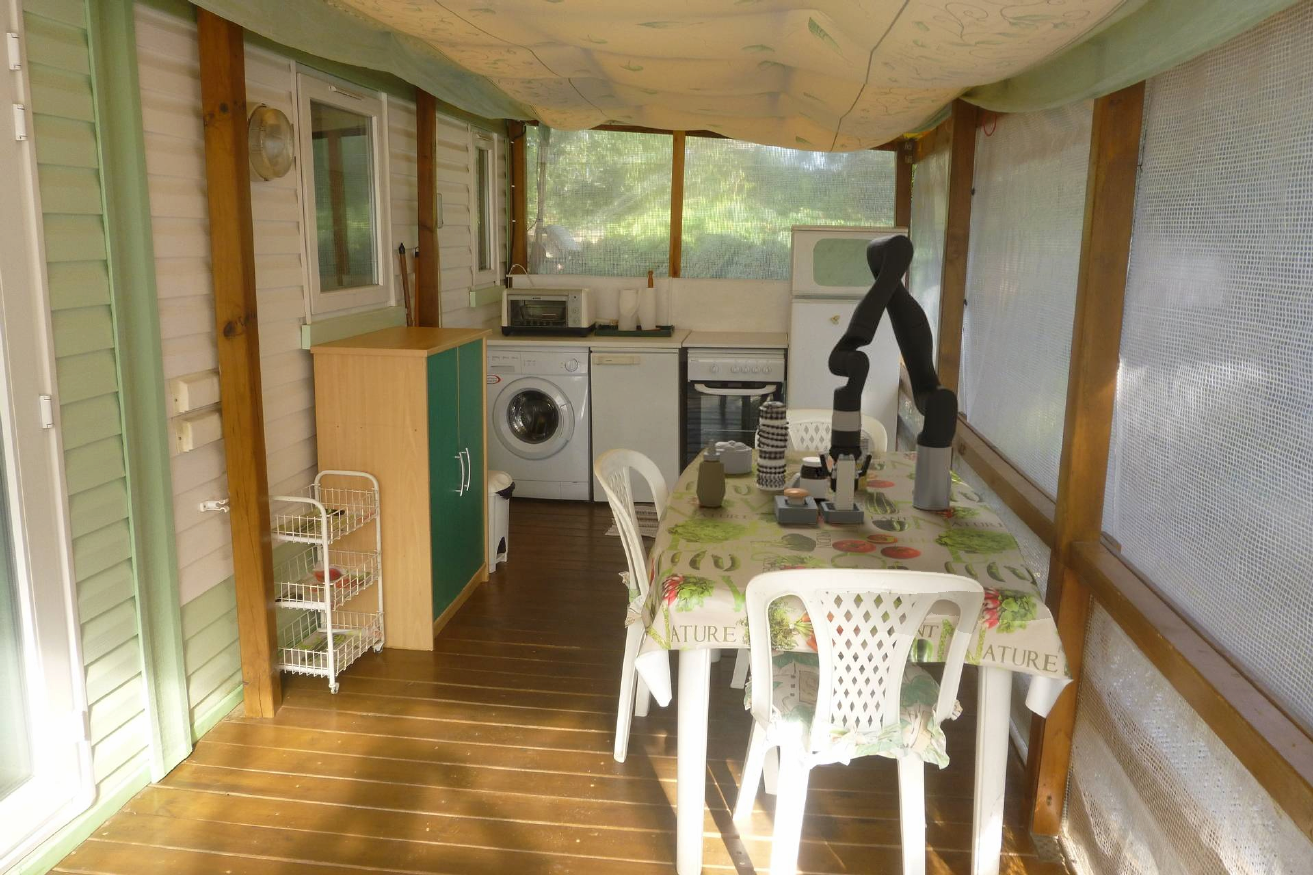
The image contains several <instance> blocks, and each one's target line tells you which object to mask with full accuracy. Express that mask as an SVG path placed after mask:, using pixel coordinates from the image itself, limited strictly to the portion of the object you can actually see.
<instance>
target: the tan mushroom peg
mask: <svg viewBox="0 0 1313 875" xmlns="http://www.w3.org/2000/svg"><path fill="white" fill-rule="evenodd" d="M783 496H786V497H788V501H787V505H804V501H805V497H808V496H809V491H807V490H804V489H797V488H791V489H787V488H785V489H783Z"/></svg>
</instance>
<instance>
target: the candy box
mask: <svg viewBox="0 0 1313 875" xmlns="http://www.w3.org/2000/svg"><path fill="white" fill-rule="evenodd" d="M869 440H870V439H869V438H866V437H863V436H861V444H860V448H861V450H862V452H865V453H869V442H870V441H869ZM862 464H863V460H862V456H860V458H859V459H858V460H857V462H856V467H857V471H860V470H861V467H862ZM867 486H868V472H867V473H866V475H865V476H862V477H860V478H859V479H858V490H856V492H857V491H866V490H867Z"/></svg>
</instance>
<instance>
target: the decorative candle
mask: <svg viewBox="0 0 1313 875" xmlns="http://www.w3.org/2000/svg"><path fill="white" fill-rule="evenodd" d="M759 409H760V412H759V413H760V415H759V424H758V425H757V426H756V427H757V433H756V435H757V436H758V438H757V446H756V447H757V449H758V461H757V463H756V466H757V468H756V472H758V473H756V482H755V483H757V484H756V488H757V489H759V490H763V491H770V492H771V491H772V492H773V491H784V490H786V484H787V481H786V478H787V476H786V474H785V473H786V472H787V469H786V468H787V464H786V456H785V455H786V450H787V449H788V446H787V445H786V444H785V443H786V442H788V441H789V438H787V437H788V436H789V433H787V432H786V430H789V429H790V428H789V426H788V425H789V424H790V423H789V421H787V420H788V419H787V410H788V407H787V406H786V405H785V404H784V403H783V402H781V401H766V402H763V403H762V405H761V406H759Z"/></svg>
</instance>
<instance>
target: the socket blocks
mask: <svg viewBox="0 0 1313 875" xmlns="http://www.w3.org/2000/svg"><path fill="white" fill-rule="evenodd" d="M787 501H788V497H786V496H784V495H774V510H773V511H774V513H775V517H776V520H777V524H794V525H795V524H797V525H799V524H800V525H802V524H804V525H817V524H818V518H819V514H820V515H821V518H822V520H823V522H824V523H827V524H828V523H829V524H832V523H833V524H864V518H865V511H864V509H863V507H862V505H861V504H860V503H859V502H855V501H853V510H836V509H835V507H834V501H825V502H821V503H820V511H819V508H818V506H817V503H815V501H814V499H813V496H808V497H805V501H804V505H787Z"/></svg>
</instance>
